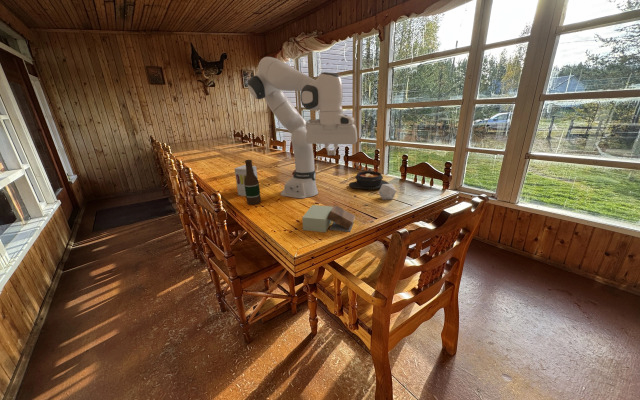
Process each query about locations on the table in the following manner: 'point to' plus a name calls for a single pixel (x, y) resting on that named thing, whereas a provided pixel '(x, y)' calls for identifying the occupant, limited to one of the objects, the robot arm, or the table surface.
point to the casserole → (368, 180)
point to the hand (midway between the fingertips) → (331, 155)
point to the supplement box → (242, 178)
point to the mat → (339, 227)
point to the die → (387, 191)
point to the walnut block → (341, 217)
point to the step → (317, 218)
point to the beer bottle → (251, 185)
